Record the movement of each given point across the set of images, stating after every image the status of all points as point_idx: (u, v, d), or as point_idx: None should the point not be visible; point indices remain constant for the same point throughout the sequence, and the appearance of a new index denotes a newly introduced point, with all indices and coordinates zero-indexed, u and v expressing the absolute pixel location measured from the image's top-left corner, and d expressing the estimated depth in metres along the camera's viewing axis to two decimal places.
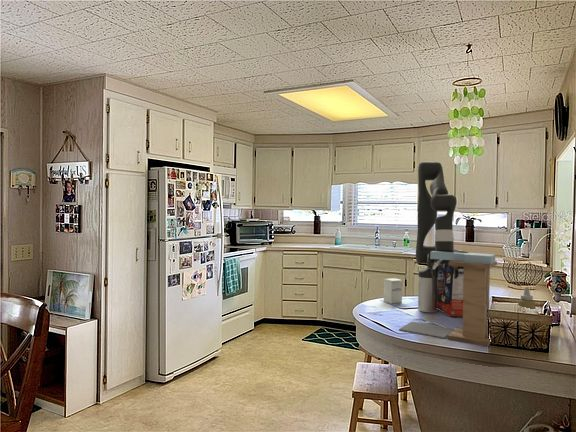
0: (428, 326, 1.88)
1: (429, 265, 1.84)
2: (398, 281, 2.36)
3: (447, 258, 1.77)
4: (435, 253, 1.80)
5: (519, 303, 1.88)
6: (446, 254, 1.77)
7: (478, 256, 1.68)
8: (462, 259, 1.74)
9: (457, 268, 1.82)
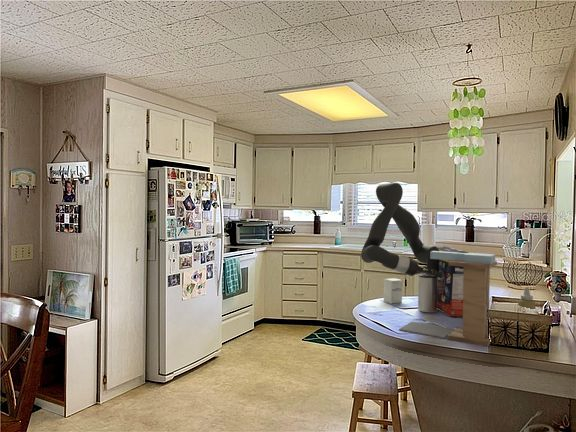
0: (428, 326, 1.88)
1: (419, 275, 2.00)
2: (398, 281, 2.36)
3: (447, 258, 1.77)
4: (435, 253, 1.80)
5: (519, 303, 1.88)
6: (446, 254, 1.77)
7: (478, 256, 1.68)
8: (462, 259, 1.74)
9: (433, 276, 1.89)
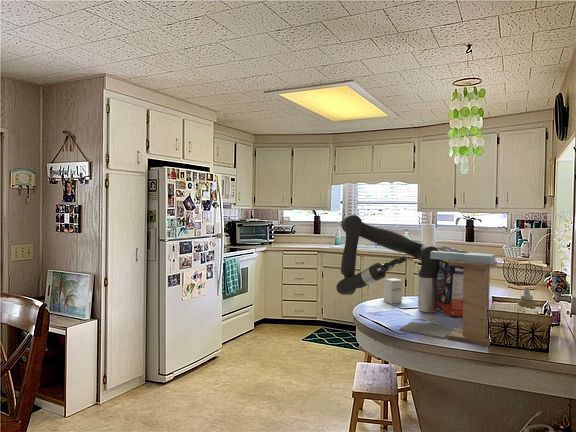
0: (428, 326, 1.88)
1: None
2: (398, 281, 2.36)
3: (447, 258, 1.77)
4: (435, 253, 1.80)
5: (519, 303, 1.88)
6: (446, 254, 1.77)
7: (478, 256, 1.68)
8: (462, 259, 1.74)
9: (391, 267, 1.93)
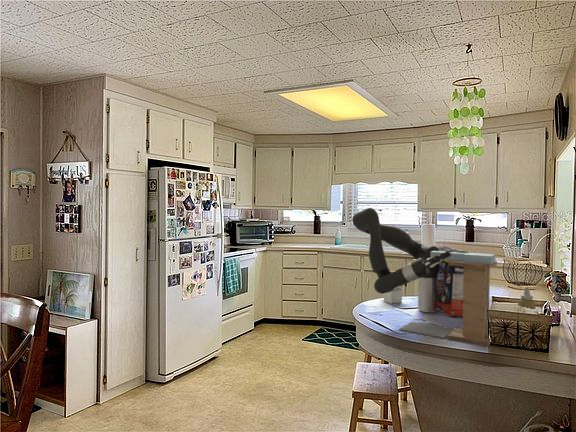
0: (428, 326, 1.88)
1: None
2: None
3: (447, 258, 1.77)
4: (435, 253, 1.80)
5: (519, 303, 1.88)
6: None
7: (478, 256, 1.68)
8: (462, 259, 1.74)
9: (441, 260, 1.78)
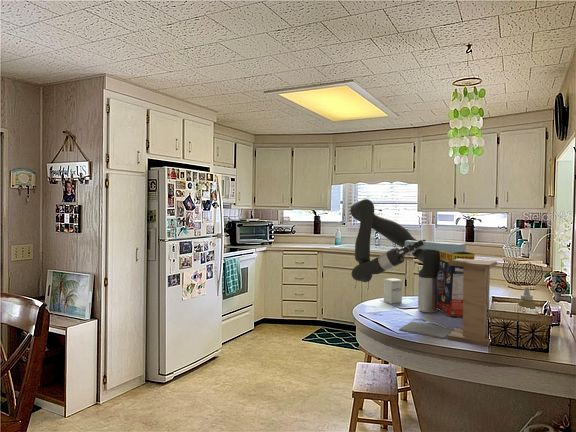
0: (428, 326, 1.88)
1: (418, 249, 1.90)
2: (398, 281, 2.36)
3: (420, 247, 1.84)
4: (409, 242, 1.86)
5: (519, 303, 1.88)
6: None
7: (449, 244, 1.74)
8: (434, 248, 1.80)
9: (415, 249, 1.84)
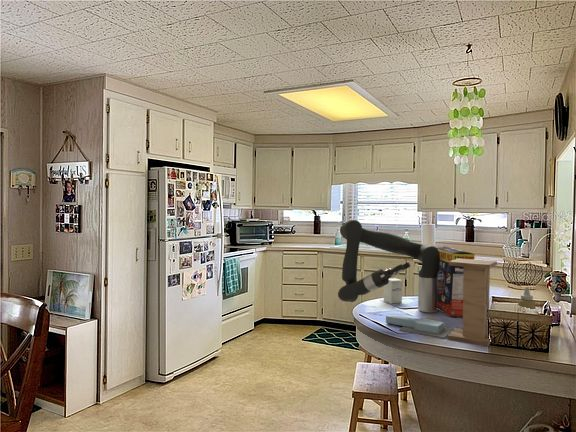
0: None
1: None
2: (398, 281, 2.36)
3: (400, 323, 1.90)
4: (390, 318, 1.92)
5: (519, 303, 1.88)
6: (399, 320, 1.90)
7: (427, 325, 1.80)
8: (413, 326, 1.86)
9: (395, 273, 1.88)
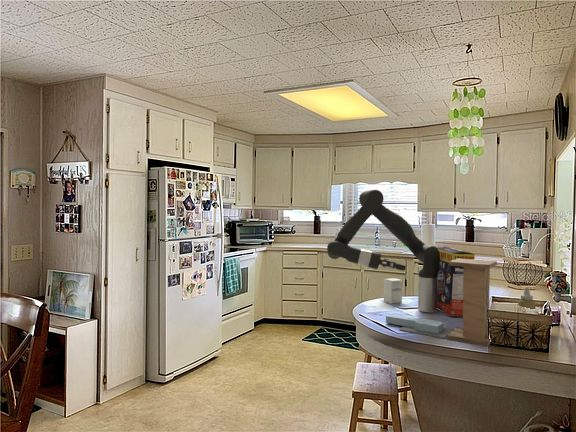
0: None
1: (391, 267, 2.03)
2: (398, 281, 2.36)
3: (400, 323, 1.90)
4: (390, 318, 1.92)
5: (519, 303, 1.88)
6: (399, 320, 1.90)
7: (427, 325, 1.80)
8: (413, 326, 1.86)
9: (394, 268, 1.91)
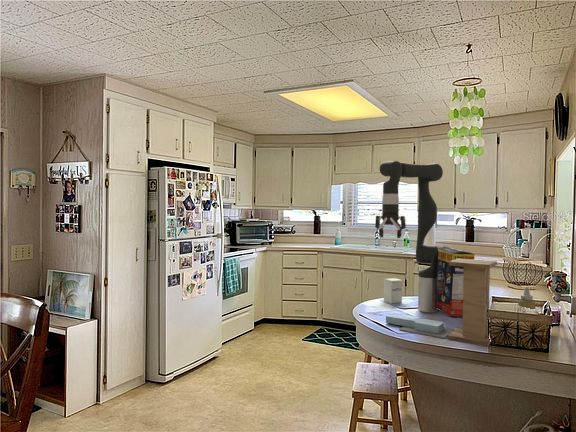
0: None
1: (376, 225, 2.07)
2: (398, 281, 2.36)
3: (400, 323, 1.90)
4: (390, 318, 1.92)
5: (519, 303, 1.88)
6: (399, 320, 1.90)
7: (427, 325, 1.80)
8: (413, 326, 1.86)
9: (398, 228, 2.00)
